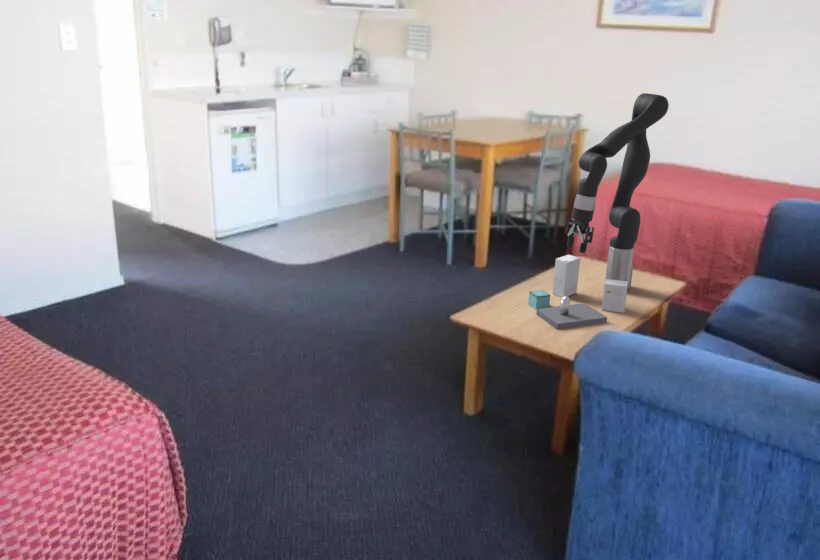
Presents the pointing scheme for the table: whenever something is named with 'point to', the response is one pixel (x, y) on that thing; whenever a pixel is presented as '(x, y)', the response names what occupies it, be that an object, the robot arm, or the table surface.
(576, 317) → the board
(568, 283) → the skincare box
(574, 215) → the robot arm
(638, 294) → the table surface
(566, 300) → the post
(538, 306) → the teal cube
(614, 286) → the small box
